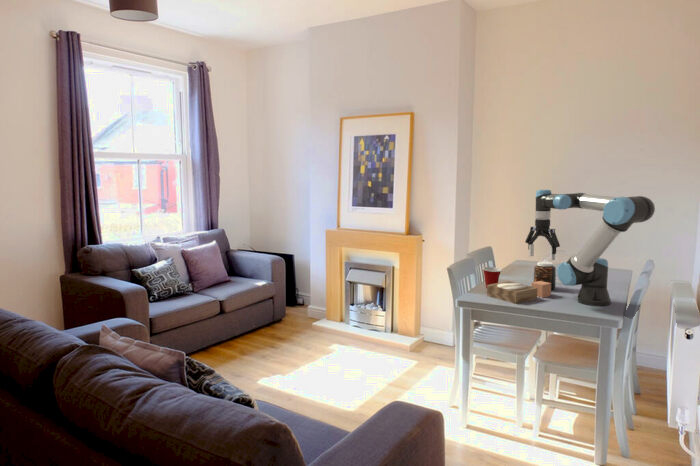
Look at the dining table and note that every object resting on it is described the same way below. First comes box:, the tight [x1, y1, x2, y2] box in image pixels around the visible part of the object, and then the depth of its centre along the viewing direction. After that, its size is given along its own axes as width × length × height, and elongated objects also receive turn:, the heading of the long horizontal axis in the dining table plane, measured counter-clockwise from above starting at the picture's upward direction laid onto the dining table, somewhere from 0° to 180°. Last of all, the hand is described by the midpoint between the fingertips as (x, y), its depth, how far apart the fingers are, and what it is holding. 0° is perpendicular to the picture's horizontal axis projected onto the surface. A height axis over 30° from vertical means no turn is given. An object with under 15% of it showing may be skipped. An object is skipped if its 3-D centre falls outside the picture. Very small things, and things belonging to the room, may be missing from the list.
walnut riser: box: [486, 280, 538, 305], centre depth 262 cm, size 20×16×6 cm
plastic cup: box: [482, 266, 503, 290], centre depth 282 cm, size 11×11×12 cm
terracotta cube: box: [531, 281, 552, 299], centre depth 265 cm, size 7×7×7 cm
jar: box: [533, 261, 557, 292], centre depth 279 cm, size 12×12×15 cm
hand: (541, 258), depth 263 cm, fingers open, 13 cm apart
